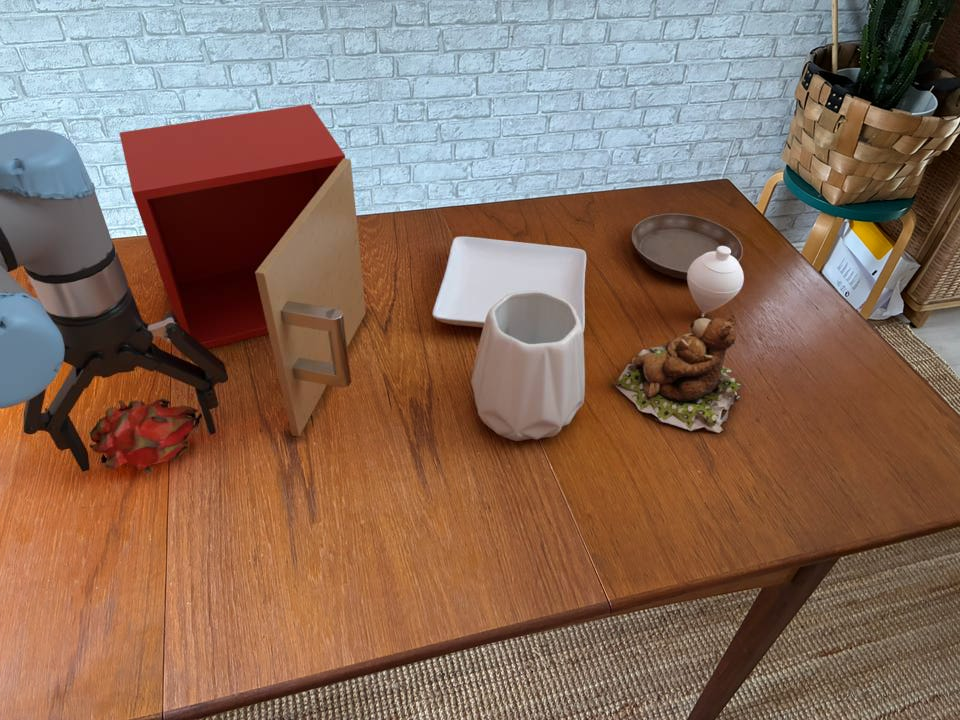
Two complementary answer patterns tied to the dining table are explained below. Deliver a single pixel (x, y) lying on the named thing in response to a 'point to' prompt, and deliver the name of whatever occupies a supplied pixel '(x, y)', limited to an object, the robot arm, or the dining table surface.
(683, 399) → the bear figurine
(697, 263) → the spinning top
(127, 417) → the dragon fruit
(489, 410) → the vase
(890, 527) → the dining table surface
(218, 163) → the cabinet
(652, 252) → the plant saucer
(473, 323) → the plate
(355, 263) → the cabinet door
